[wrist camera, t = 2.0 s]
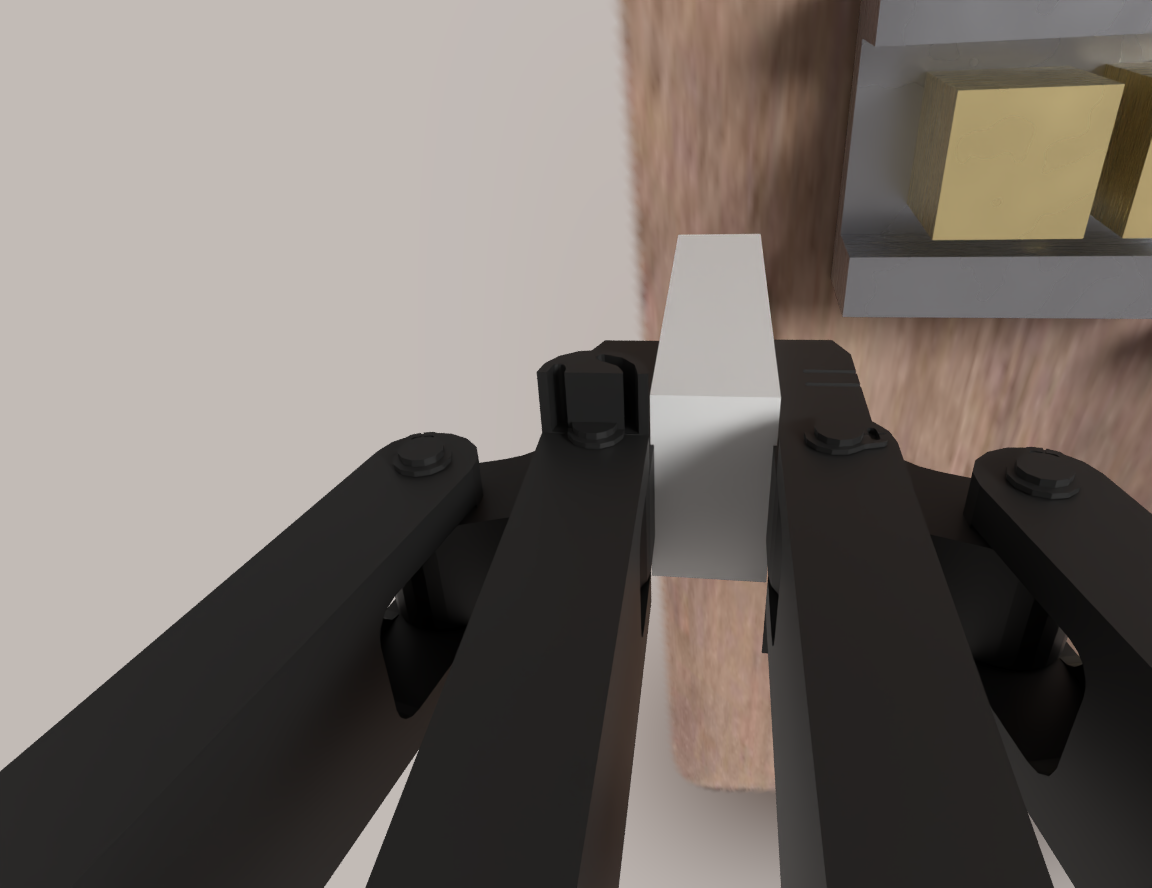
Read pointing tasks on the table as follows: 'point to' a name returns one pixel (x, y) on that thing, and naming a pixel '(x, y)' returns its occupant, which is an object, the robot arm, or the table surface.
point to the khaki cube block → (1128, 157)
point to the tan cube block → (1011, 152)
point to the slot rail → (886, 151)
